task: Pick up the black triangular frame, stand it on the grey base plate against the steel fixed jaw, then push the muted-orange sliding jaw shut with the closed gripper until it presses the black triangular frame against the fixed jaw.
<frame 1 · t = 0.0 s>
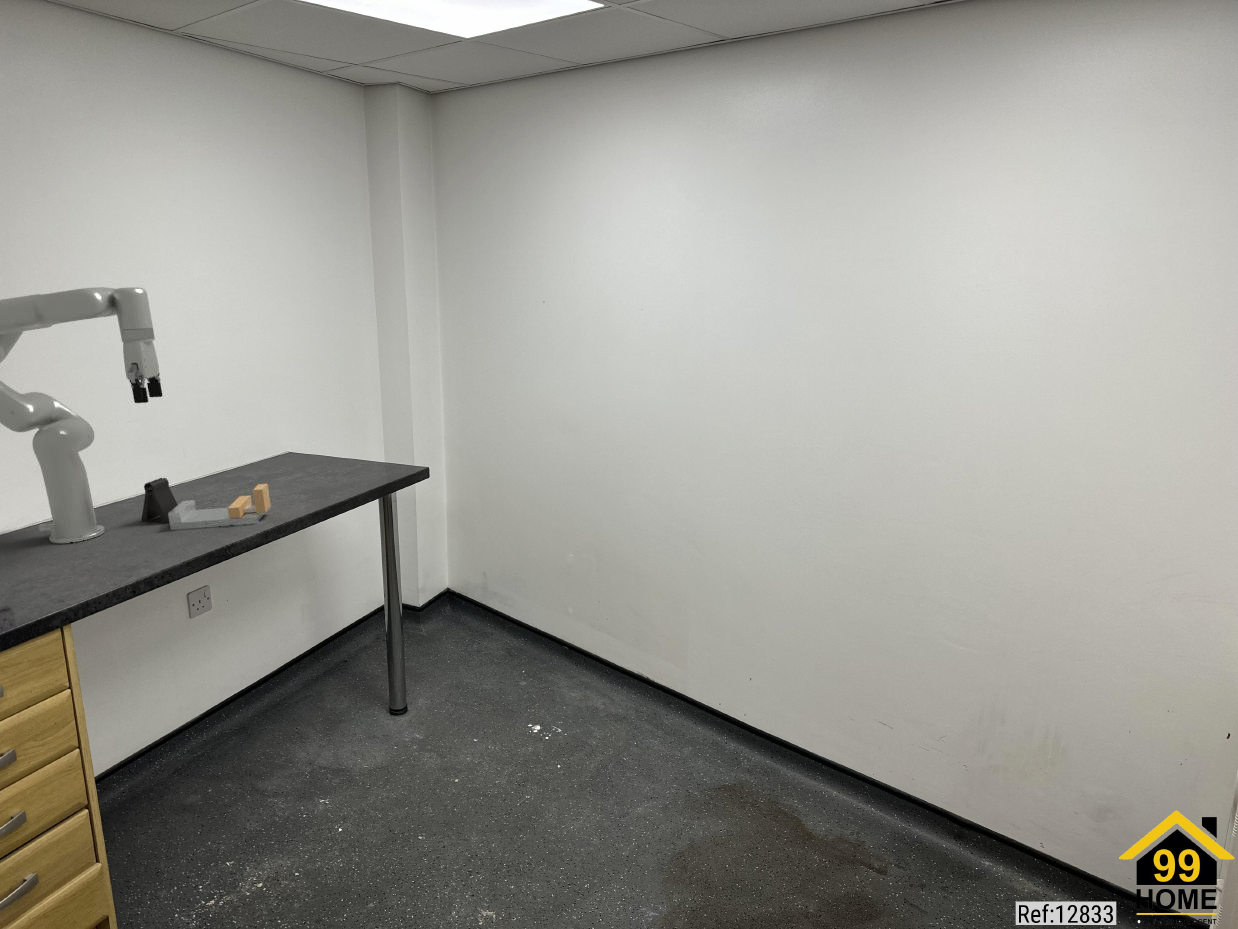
hand: (149, 399, 207), 37 cm above the table, tool pointing down, fingers open, 9 cm apart
grey base plate: (216, 520, 223), on the table
sliding jaw: (250, 499, 223), point 6 cm above the table, slide at 6.5 cm
black triangular frame: (162, 520, 225), on the table
fixed jaw: (182, 511, 220), on the grey base plate, point 4 cm above the table
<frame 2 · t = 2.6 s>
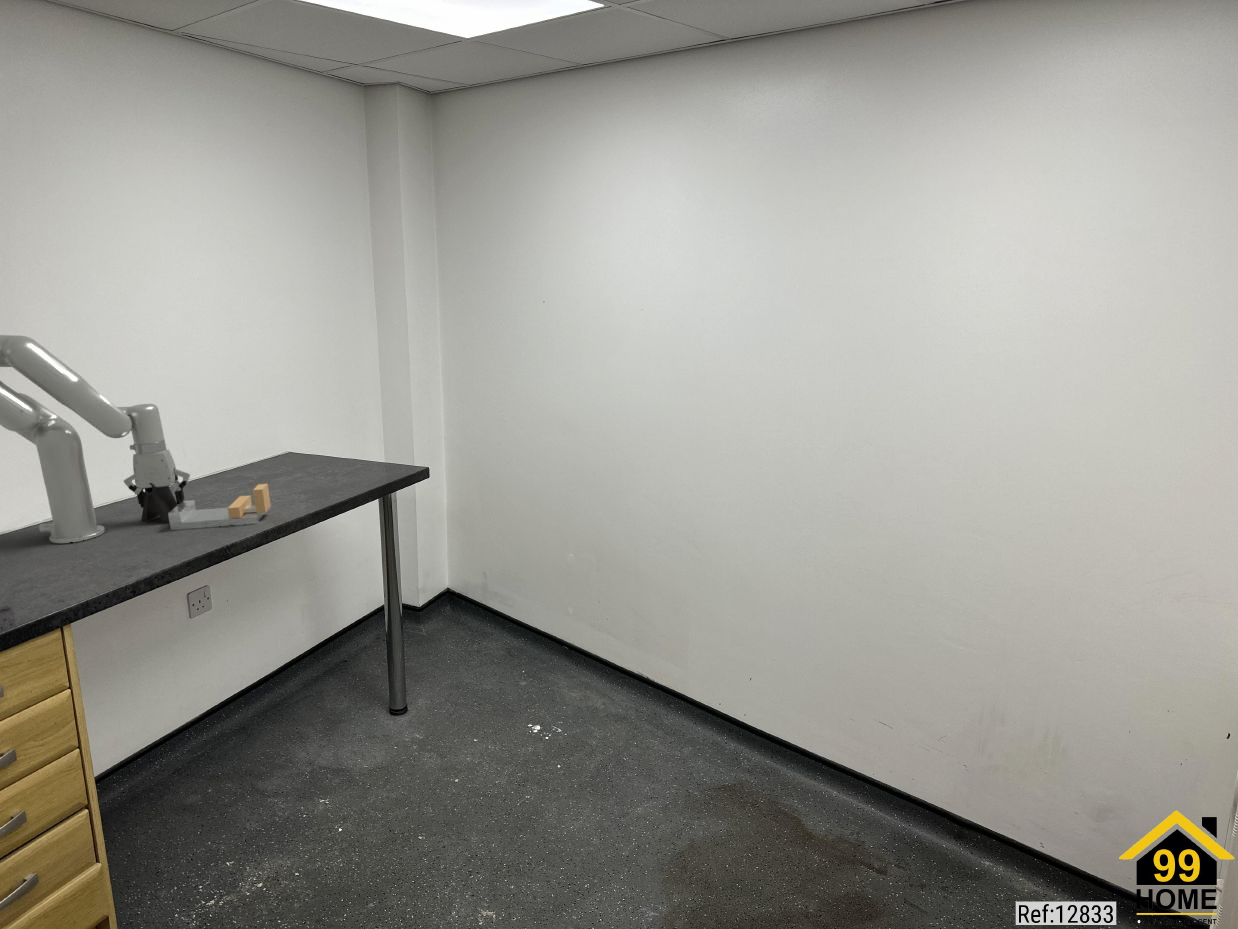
hand: (162, 504, 224), 5 cm above the table, tool pointing down, fingers open, 9 cm apart
nothing on the table moved.
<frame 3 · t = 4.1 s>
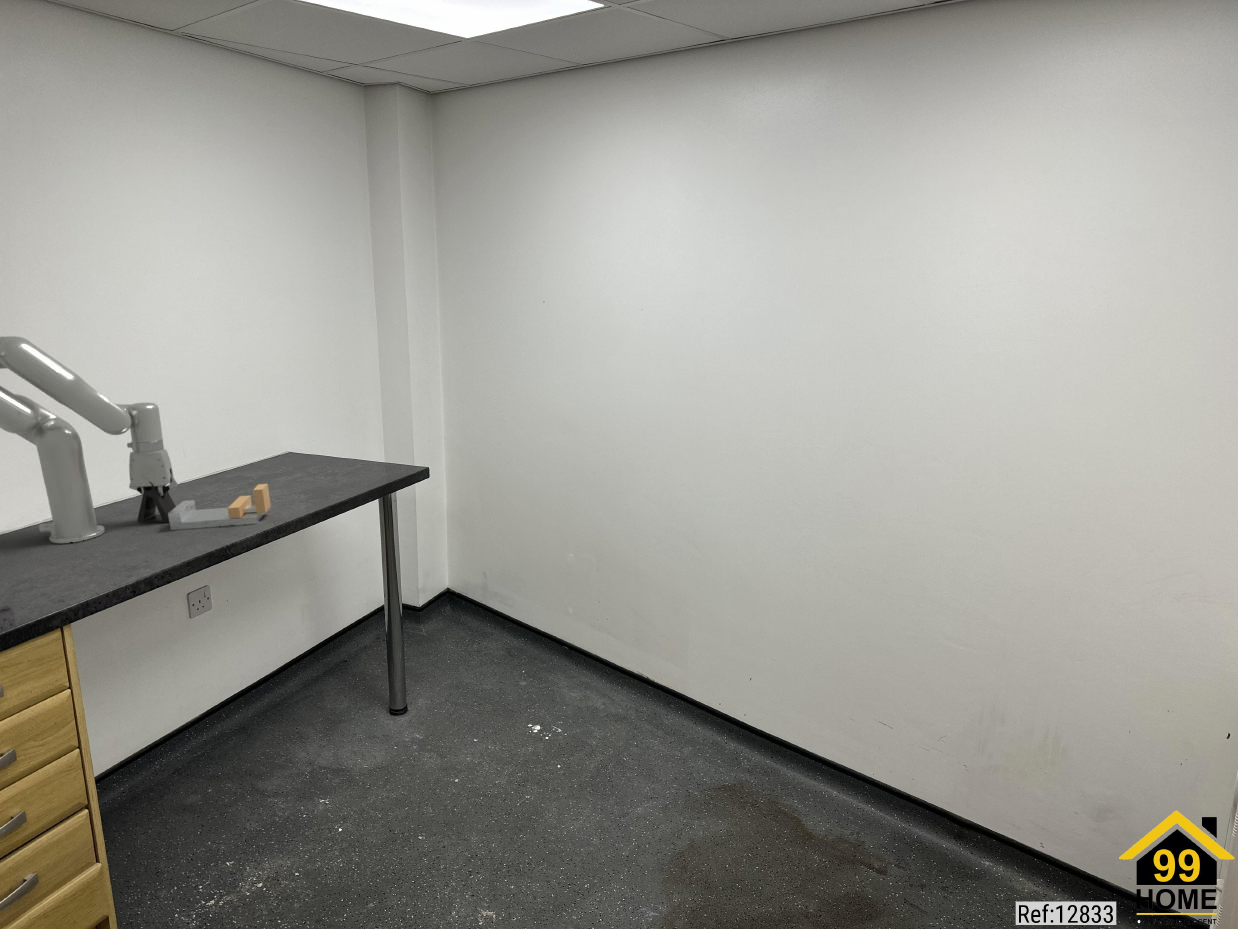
hand: (156, 508, 223), 4 cm above the table, tool pointing down, fingers closed on black triangular frame
black triangular frame: (159, 519, 224), on the table, touching gripper
everything else where it was.
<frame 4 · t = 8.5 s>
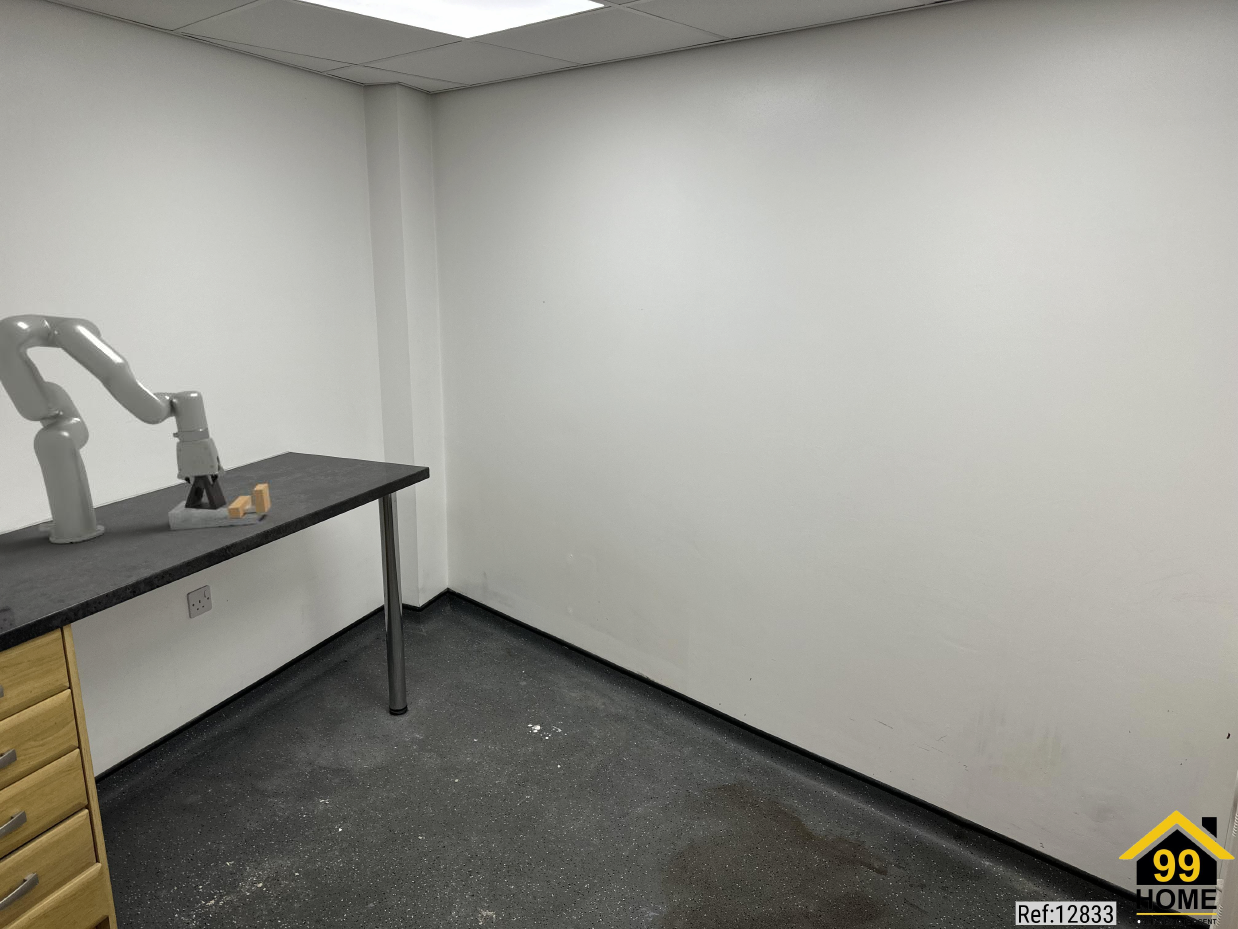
hand: (205, 497, 221), 7 cm above the table, tool pointing down, fingers closed on black triangular frame, 2 cm apart
black triangular frame: (205, 507, 222), point 4 cm above the table, touching fixed jaw, gripper
everything else where it was.
when the fingers open (7 cm above the table, at t = 8.9 s): black triangular frame drops 2 cm, resting on grey base plate.
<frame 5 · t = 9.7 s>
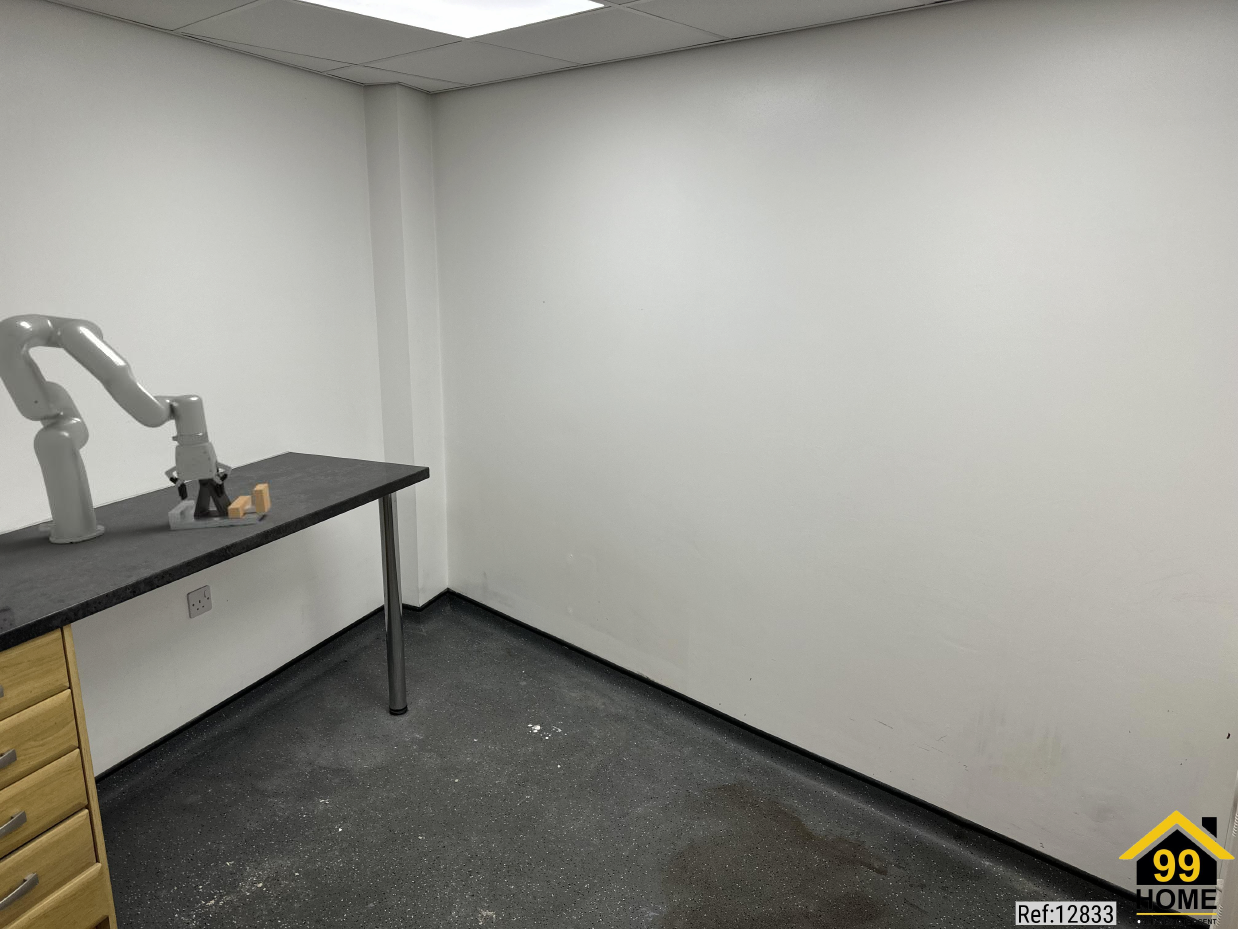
hand: (202, 497, 221), 7 cm above the table, tool pointing down, fingers open, 9 cm apart
black triangular frame: (214, 514, 223), point 2 cm above the table, touching grey base plate
everything else where it was.
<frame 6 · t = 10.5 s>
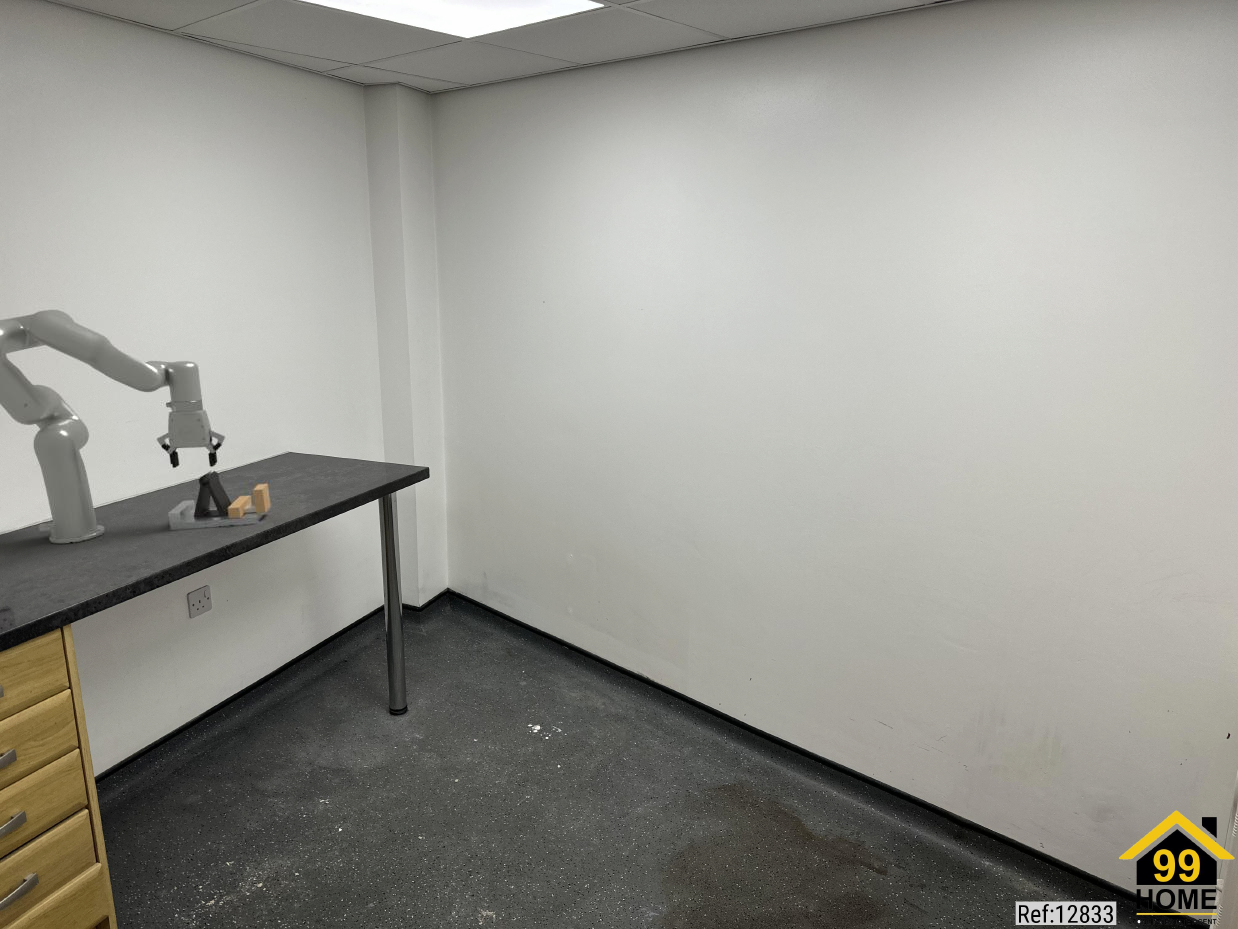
hand: (194, 466, 218), 17 cm above the table, tool pointing down, fingers open, 9 cm apart
nothing on the table moved.
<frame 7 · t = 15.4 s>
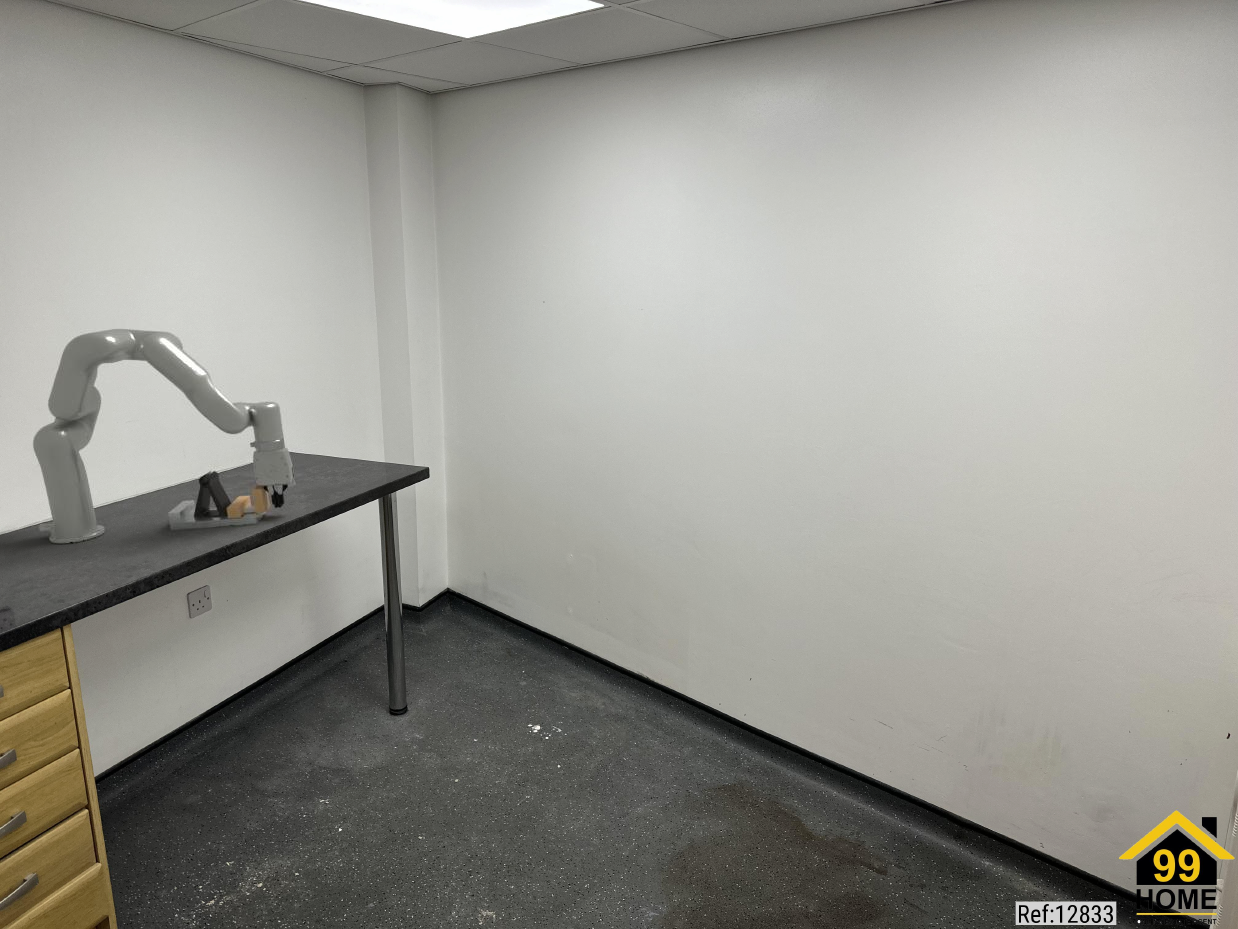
hand: (278, 506, 225), 3 cm above the table, tool pointing down, fingers closed
sliding jaw: (249, 499, 223), point 6 cm above the table, slide at 6.3 cm, touching gripper
everything else where it was.
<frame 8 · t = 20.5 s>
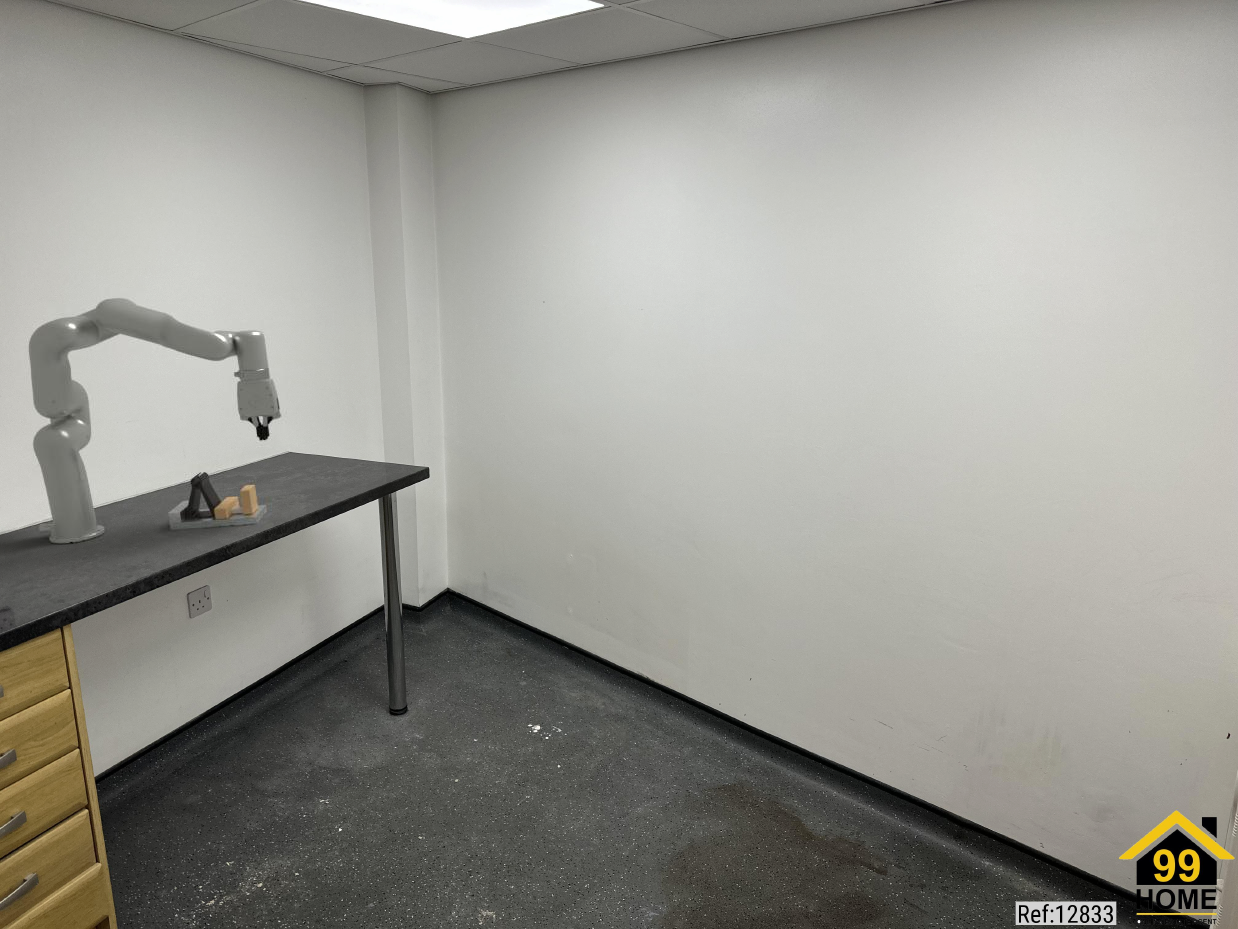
hand: (263, 439, 220), 23 cm above the table, tool pointing down, fingers closed
sliding jaw: (237, 500, 222), point 6 cm above the table, slide at 3.0 cm
black triangular frame: (205, 515, 222), point 2 cm above the table, touching grey base plate
at the end: black triangular frame 0.0 cm from the target spot on the grey base plate, point 1.8 cm above the grey base plate's base; black triangular frame tilted 0° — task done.
